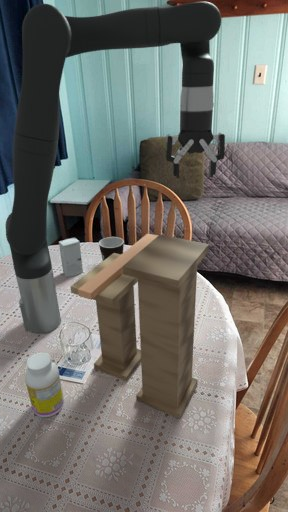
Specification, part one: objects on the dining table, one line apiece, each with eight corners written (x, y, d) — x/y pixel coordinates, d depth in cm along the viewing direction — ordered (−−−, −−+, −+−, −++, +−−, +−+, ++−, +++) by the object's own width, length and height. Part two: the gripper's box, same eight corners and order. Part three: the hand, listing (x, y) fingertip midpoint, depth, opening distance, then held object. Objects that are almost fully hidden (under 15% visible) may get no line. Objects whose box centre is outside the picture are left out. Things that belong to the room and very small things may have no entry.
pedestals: (120, 336, 95) (111, 216, 79) (206, 366, 85) (215, 235, 69) (78, 383, 81) (57, 250, 65) (175, 426, 71) (178, 280, 55)
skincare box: (67, 277, 122) (62, 246, 117) (62, 272, 126) (57, 241, 120) (84, 272, 125) (80, 241, 120) (78, 267, 129) (74, 236, 123)
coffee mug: (124, 273, 124) (123, 247, 119) (99, 273, 124) (97, 248, 120) (126, 257, 134) (125, 233, 130) (103, 257, 135) (101, 233, 130)
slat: (147, 238, 90) (147, 233, 89) (158, 241, 88) (158, 235, 88) (78, 295, 68) (77, 289, 67) (91, 300, 67) (90, 293, 66)
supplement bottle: (33, 396, 78) (22, 351, 72) (64, 390, 80) (55, 345, 74) (32, 422, 73) (20, 376, 67) (65, 415, 74) (56, 369, 68)
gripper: (223, 105, 86) (218, 172, 94) (164, 107, 86) (164, 174, 94) (231, 108, 80) (225, 180, 87) (167, 110, 80) (167, 182, 87)
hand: (193, 176), depth 91 cm, fingers open, 8 cm apart
